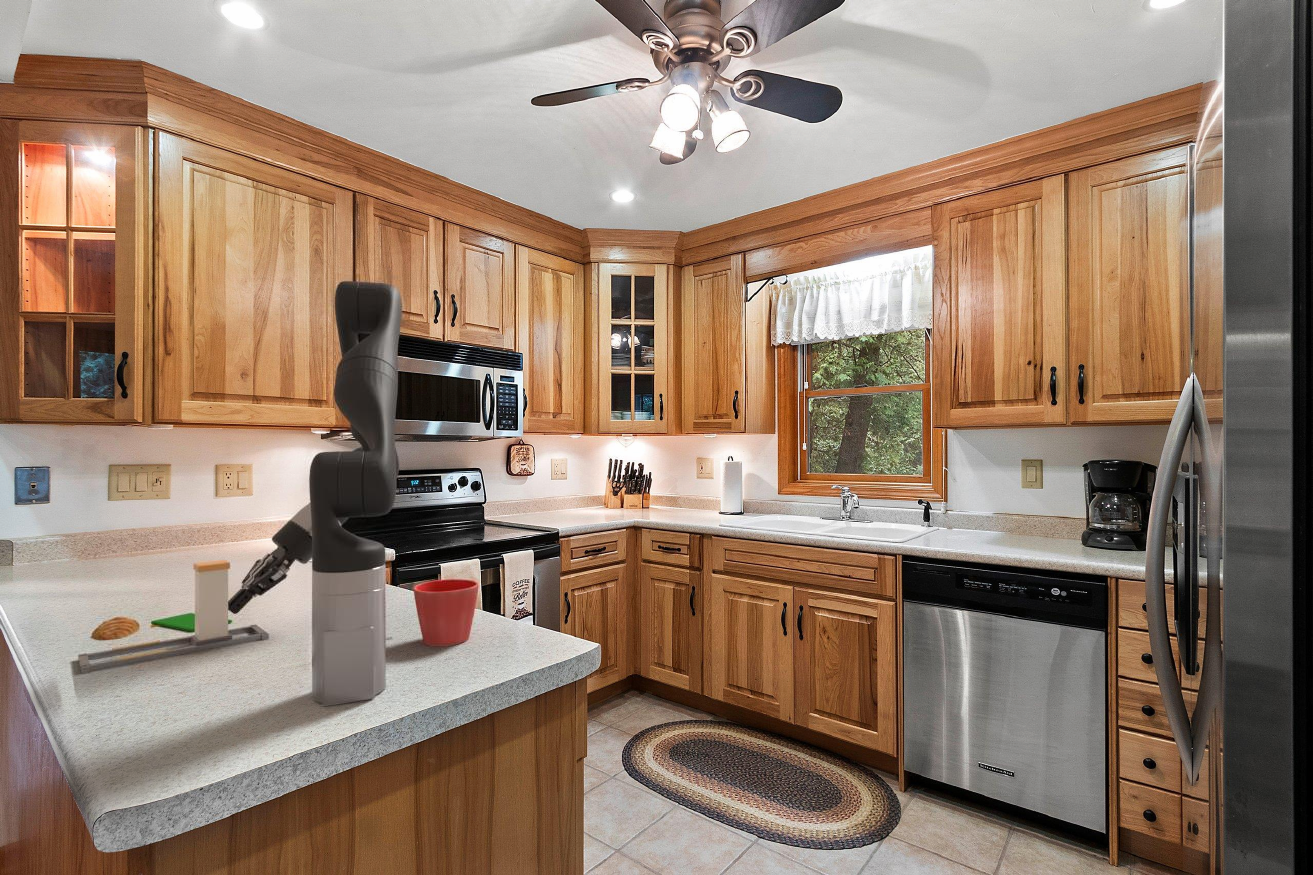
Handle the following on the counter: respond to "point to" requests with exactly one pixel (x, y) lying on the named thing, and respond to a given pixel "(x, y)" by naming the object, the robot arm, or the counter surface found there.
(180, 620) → the dish sponge
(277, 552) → the robot arm
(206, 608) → the fader
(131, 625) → the pastry
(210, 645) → the track
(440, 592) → the flower pot
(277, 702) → the counter surface
